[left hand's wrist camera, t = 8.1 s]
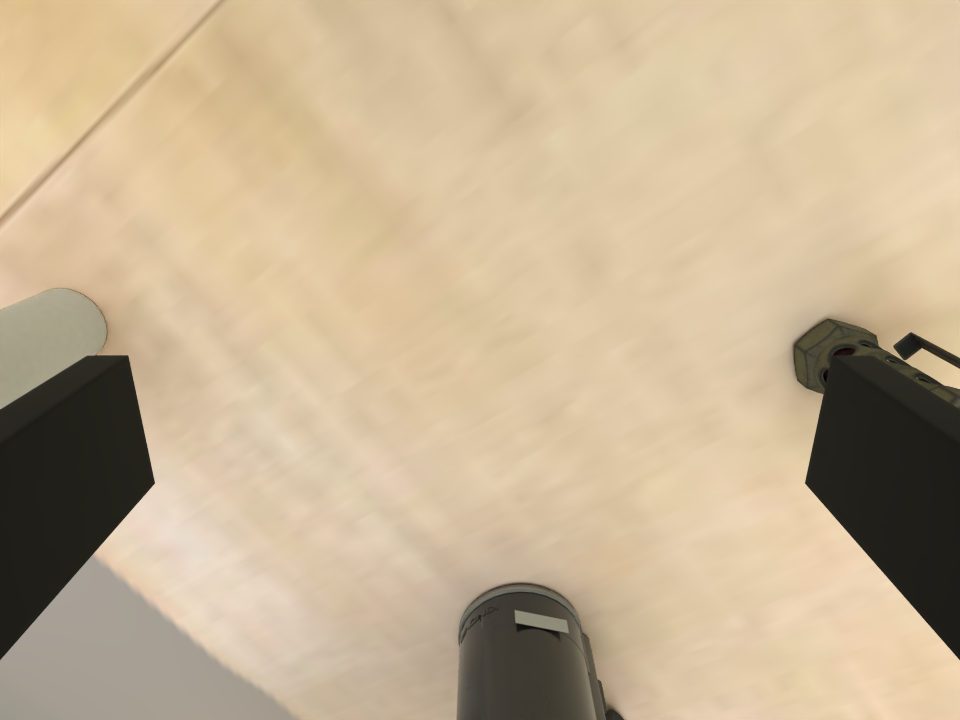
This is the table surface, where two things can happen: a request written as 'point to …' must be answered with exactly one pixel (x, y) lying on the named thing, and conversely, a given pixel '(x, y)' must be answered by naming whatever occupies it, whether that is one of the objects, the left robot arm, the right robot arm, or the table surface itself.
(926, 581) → the left robot arm
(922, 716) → the table surface
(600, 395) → the table surface
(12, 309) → the bottle
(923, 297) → the table surface
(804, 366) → the grenade
